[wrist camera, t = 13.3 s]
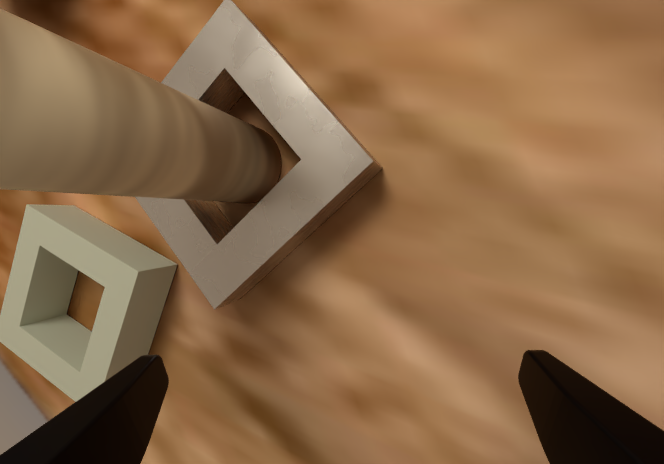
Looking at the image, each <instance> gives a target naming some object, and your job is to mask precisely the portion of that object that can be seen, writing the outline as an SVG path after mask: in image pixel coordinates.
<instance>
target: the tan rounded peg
mask: <svg viewBox="0 0 664 464" xmlns="http://www.w3.org/2000/svg"><path fill="white" fill-rule="evenodd" d="M280 172H281V156H280V152H279V149H278V146H277V144H276V142H275V141H274V140H273V138H272V137H271V136H270V135H269V134H268V133H267V132H265V131H263V130H262V129H259V128H257V127H255V126H253V125H251V124H249V123H247V122H244V121H242V120H240V119H238V118H236V117H234V116H231V115H229V114H227V113H225V112H223V111H221V110H219V109H216V108H214V107H212V106H210V105H208V104H206V103H203V102H201V101H199V100H197V99H195V98H193V97H191V96H188V95H186V94H184V93H182V92H180V91H178V90H175V89H173V88H171V87H169V86H167V85H165V84H163V83H160V82H158V81H156V80H154V79H152V78H150V77H147V76H145V75H143V74H141V73H139V72H137V71H135V70H132V69H130V68H128V67H126V66H124V65H122V64H119V63H117V62H115V61H113V60H111V59H109V58H107V57H104V56H102V55H100V54H98V53H96V52H94V51H91V50H89V49H87V48H85V47H83V46H81V45H78V44H76V43H74V42H72V41H70V40H68V39H66V38H63V37H61V36H59V35H57V34H55V33H53V32H50V31H48V30H46V29H44V28H42V27H40V26H38V25H35V24H33V23H31V22H29V21H27V20H25V19H22V18H20V17H18V16H16V15H14V14H12V13H10V12H7V11H5V10H3V9H1V8H0V189H10V190H27V191H44V192H62V193H79V194H97V195H114V196H132V197H149V198H167V199H184V200H202V201H219V202H237V203H252V202H256V201H259V200H261V199H263V198H264V197H265V196H266V195H267V194H268V193H269V192H270V191H271V190H272V189H273V188H274V187H275V185H276V183H277V181H278V179H279V176H280Z"/></svg>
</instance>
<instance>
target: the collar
mask: <svg viewBox="0 0 664 464" xmlns="http://www.w3.org/2000/svg"><path fill="white" fill-rule="evenodd" d="M177 265H178V264H176V263H174V262H173V261H171V260H169V259H167V258H166V257H164V256H162V255H160V254H159V253H157V252H155V251H153V250H152V249H150V248H148V247H146V246H144V245H143V244H141V243H139V242H137V241H136V240H134V239H132V238H130V237H129V236H127V235H125V234H123V233H122V232H120V231H118V230H116V229H115V228H113V227H111V226H109V225H108V224H106V223H104V222H102V221H101V220H99V219H97V218H95V217H94V216H92V215H90V214H88V213H87V212H85V211H83V210H81V209H79V208H78V207H76V206H70V205H30V204H27V205H26V210H25V214H24V218H23V222H22V226H21V231H20V235H19V239H18V243H17V247H16V252H15V256H14V260H13V264H12V268H11V273H10V277H9V281H8V285H7V290H6V294H5V298H4V302H3V306H2V311H1V315H0V342H1V343H2V344H4V345H5V346H6V347H7V348H9V349H10V350H11V351H13V352H14V353H15V354H16V355H18V356H19V357H20V358H21V359H23V360H24V361H25V362H26V363H28V364H29V365H30V366H31V367H33V368H34V369H35V370H36V371H38V372H39V373H40V374H41V375H43V376H44V377H45V378H46V379H48V380H49V381H50V382H51V383H53V384H54V385H55V386H56V387H58V388H59V389H60V390H61V391H63V392H64V393H65V394H66V395H68V396H69V397H70V398H71V399H73V400H74V401H75V402H76V401H78V400H79V399H81V398H82V397H83V396H85V395H86V394H88V393H89V392H91V391H92V390H93V389H95V388H96V387H98V386H99V385H100V384H102V383H103V382H105V381H106V380H108V379H109V378H110V377H112V376H113V375H115V374H116V373H117V372H119V371H120V370H122V369H123V368H125V367H126V366H127V365H129V364H130V363H132V362H133V361H134V360H136V359H137V358H139V357H140V356H142V355H148V353H149V350H150V347H151V344H152V341H153V338H154V335H155V332H156V329H157V326H158V323H159V320H160V317H161V313H162V310H163V307H164V304H165V301H166V298H167V295H168V292H169V289H170V286H171V283H172V280H173V277H174V274H175V271H176V268H177ZM78 270H79V271H81V272H82V273H84V274H85V275H87V276H88V277H90V278H91V279H93V280H95V281H96V282H98V283H99V284H101V285H102V286H104V287H105V288H104V292H103V295H102V299H101V302H100V306H99V309H98V312H97V316H96V319H95V323H94V326H93V330H92V332H91V331H90V330H88V329H87V328H85V327H84V326H83V325H81V324H80V323H78V322H77V321H76V320H74V319H73V318H71V317H70V316H68V315H67V310H68V306H69V303H70V299H71V295H72V292H73V288H74V285H75V281H76V277H77V274H78Z"/></svg>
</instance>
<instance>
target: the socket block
mask: <svg viewBox="0 0 664 464" xmlns="http://www.w3.org/2000/svg"><path fill="white" fill-rule="evenodd" d="M161 83H163V84H165V85H167V86H169V87H171V88H173V89H175V90H178V91H180V92H182V93H184V94H186V95H188V96H191V97H193V98H195V99H197V100H199V101H201V102H203V103H206V104H208V105H210V106H212V107H214V108H216V109H219V110H221V111H223V112H225V113H227V112H228V111H229V110H230V109H231V107H232V106H233V105H234V104H235V103H236V102H237V100H238V99H239V98H240V97H241V96H242V95H243V93H244V92H245V93H246V94H247V95H248V96H249V98H250V99H251V100H252V101H253V102H254V104H255V105H256V106H257V107H258V108H259V110H260V111H261V112H262V113H263V114H264V116H265V117H266V118H267V119H268V120H269V122H270V123H271V124H272V125H273V126H274V128H275V129H276V130H277V131H278V132H279V134H280V135H281V136H282V137H283V138H284V139H285V141H286V142H287V143H288V144H289V145H290V147H291V148H292V149H293V150H294V151H295V153H296V154H297V155H298V156H299V157H300V159H301V160H300V161H299V162H298V163H297V164H296V165H295V166H294V167H293V168H292V169H291V170H290V171H289V172H288V173H287V174H286V175H285V176H284V177H283V178H282V179H281V181H280V182H279V183H278V184H277V185H276V186H275V187H274V188H273V189H272V190H271V191H270V192H269V193H268V194H267V195H266V196H265V197H264V198H263V199H262V200H261V201H260V202H259V203H258V204H257V205H256V206H255V207H254V208H253V209H252V210H251V211H250V212H249V213H248V214H247V215H246V216H245V217H244V218H243V219H242V220H241V221H240V222H239V223H238V224H237V225H236V226H235V227H234V228H233V227H232V226H231V224H230V223H229V222H228V220H227V219H226V218H225V216H224V215H223V214H222V213H221V211H220V210H219V209H218V207H217V206H216V205H215V203H214V202H213V201H202V200H184V199H167V198H149V197H135V198H136V199H137V201H138V202H139V203H140V205H141V206H142V208H143V209H144V211H145V212H146V213H147V215H148V216H149V218H150V219H151V220H152V222H153V223H154V225H155V226H156V227H157V229H158V230H159V232H160V233H161V235H162V236H163V237H164V239H165V240H166V242H167V243H168V244H169V246H170V247H171V249H172V250H173V252H174V253H175V254H176V256H177V257H178V259H179V260H180V261H181V263H182V264H183V266H184V267H185V269H186V270H187V271H188V273H189V274H190V276H191V277H192V278H193V280H194V281H195V283H196V284H197V285H198V287H199V288H200V290H201V291H202V293H203V294H204V295H205V297H206V298H207V300H208V301H209V302H210V304H211V305H212V307H213V308H214V309H217V308H219V307H222V306H224V305H226V304H229V303H231V302H234V301H236V300H239V299H241V298H242V297H243V296H244V295H245V294H246V293H247V292H248V291H249V290H251V289H252V288H253V287H254V286H255V285H256V284H257V283H258V282H259V281H260V280H261V279H263V278H264V277H265V276H266V275H267V274H268V273H269V272H270V271H271V270H272V269H273V268H275V267H276V266H277V265H278V264H279V263H280V262H281V261H282V260H283V259H284V258H285V257H286V256H288V255H289V254H290V253H291V252H292V251H293V250H294V249H295V248H296V247H297V246H298V245H300V244H301V243H302V242H303V241H304V240H305V239H306V238H307V237H308V236H309V235H310V234H312V233H313V232H314V231H315V230H316V229H317V228H318V227H319V226H320V225H321V224H322V223H324V222H325V221H326V220H327V219H328V218H329V217H330V216H331V215H332V214H333V213H334V212H336V211H337V210H338V209H339V208H340V207H341V206H342V205H343V204H344V203H345V202H346V201H347V200H349V199H350V198H351V197H352V196H353V195H354V194H355V193H356V192H357V191H358V190H359V189H361V188H362V187H363V186H364V185H365V184H366V183H367V182H368V181H369V180H370V179H371V178H373V177H374V176H375V175H376V174H377V173H378V172H379V171H380V170H381V169H382V167H381V166H380V165H379V163H378V162H377V161H376V160H375V159H374V158H373V157H372V156H371V154H370V153H369V152H368V151H367V150H366V149H365V148H364V146H363V145H362V144H361V143H360V142H359V141H358V140H357V139H356V137H355V136H354V135H353V134H352V133H351V132H350V131H349V130H348V128H347V127H346V126H345V125H344V124H343V123H342V122H341V121H340V119H339V118H338V117H337V116H336V115H335V114H334V113H333V112H332V110H331V109H330V108H329V107H328V106H327V105H326V104H325V102H324V101H323V100H322V99H321V98H320V97H319V96H318V95H317V93H316V92H315V91H314V90H313V89H312V88H311V87H310V86H309V84H308V83H307V82H306V81H305V80H304V79H303V78H302V77H301V75H300V74H299V73H298V72H297V71H296V70H295V69H294V68H293V66H292V65H291V64H290V63H289V62H288V61H287V60H286V58H285V57H284V56H283V55H282V54H281V53H280V52H279V51H278V49H277V48H276V47H275V46H274V45H273V44H272V43H271V42H270V40H269V39H268V38H267V37H266V36H265V35H264V34H263V33H262V31H261V30H260V29H259V28H258V27H257V26H256V25H255V24H254V22H253V21H252V20H251V19H250V18H249V17H248V16H247V15H246V14H245V13H244V12H243V11H242V10H241V9H240V8H239V7H238V6H237V5H236V4H235V3H234V2H233V1H232V0H224V1H223V3H222V4H221V5H220V6H219V8H218V9H217V10H216V12H215V13H214V14H213V16H212V17H211V18H210V20H209V21H208V22H207V24H206V25H205V26H204V27H203V29H202V30H201V31H200V33H199V34H198V35H197V37H196V38H195V39H194V41H193V42H192V43H191V44H190V46H189V47H188V48H187V50H186V51H185V52H184V54H183V55H182V56H181V58H180V59H179V60H178V61H177V63H176V64H175V65H174V67H173V68H172V69H171V71H170V72H169V73H168V75H167V76H166V77H165V78H164V80H163V81H162V82H161Z"/></svg>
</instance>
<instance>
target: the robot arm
mask: <svg viewBox="0 0 664 464" xmlns="http://www.w3.org/2000/svg"><path fill="white" fill-rule="evenodd" d="M518 379H519V384H520V387H521V390H522V393H523V396H524V398H525V401H526V404H527V407H528V409H529V412H530V415H531V418H532V420H533V423H534V426H535V428H536V431H537V434H538V437H539V439H540V442H541V444H542V447H543V450H544V452H545V454H546V456H547V458H548V461H549V463H550V464H664V431H663V430H661V429H660V428H659V427H657V426H656V425H654V424H653V423H651V422H650V421H648V420H647V419H645V418H644V417H642V416H641V415H639V414H638V413H636V412H635V411H633V410H632V409H630V408H629V407H628V406H626V405H625V404H623V403H622V402H620V401H619V400H617V399H616V398H614V397H613V396H611V395H610V394H608V393H607V392H605V391H604V390H602V389H601V388H600V387H598V386H597V385H595V384H594V383H592V382H591V381H589V380H588V379H586V378H585V377H583V376H582V375H580V374H579V373H577V372H576V371H574V370H573V369H571V368H570V367H569V366H567V365H566V364H564V363H563V362H561V361H560V360H558V359H557V358H555V357H554V356H552V355H551V354H549V353H548V352H546V351H544V350H527V351H526V352H525V353H524V355H523V359H522V363H521V366H520V370H519V375H518ZM168 383H169V380H168V375H167V372H166V369H165V366H164V364H163V361H162V358H161V357H160V356H159V355H142V356H140V357H139V358H137V359H136V360H134V361H133V362H132V363H130V364H129V365H127V366H126V367H125V368H123V369H122V370H120V371H119V372H117V373H116V374H115V375H113V376H112V377H110V378H109V379H108V380H106V381H105V382H103V383H102V384H100V385H99V386H98V387H96V388H95V389H93V390H92V391H91V392H89V393H88V394H86V395H85V396H83V397H82V398H81V399H79V400H78V401H76V402H75V403H74V404H72V405H71V406H69V407H68V408H66V409H65V410H64V411H62V412H61V413H59V414H58V415H57V416H55V417H54V418H52V419H51V420H50V421H48V422H47V423H45V424H44V425H43V426H41V427H40V428H38V429H37V430H35V431H34V432H33V433H31V434H30V435H28V436H27V437H25V438H24V439H23V440H21V441H20V442H18V443H17V444H16V445H14V446H13V447H11V448H10V449H8V450H7V451H6V452H4V453H3V454H1V455H0V464H140V463H141V461H142V459H143V456H144V454H145V451H146V449H147V446H148V444H149V441H150V438H151V435H152V432H153V429H154V426H155V423H156V421H157V418H158V415H159V412H160V409H161V406H162V403H163V400H164V397H165V394H166V391H167V388H168Z"/></svg>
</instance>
